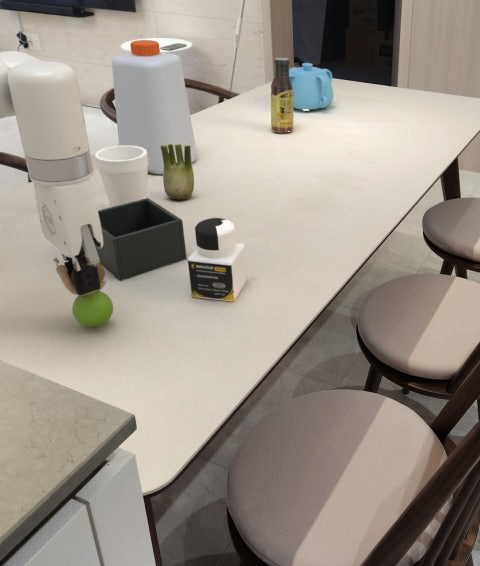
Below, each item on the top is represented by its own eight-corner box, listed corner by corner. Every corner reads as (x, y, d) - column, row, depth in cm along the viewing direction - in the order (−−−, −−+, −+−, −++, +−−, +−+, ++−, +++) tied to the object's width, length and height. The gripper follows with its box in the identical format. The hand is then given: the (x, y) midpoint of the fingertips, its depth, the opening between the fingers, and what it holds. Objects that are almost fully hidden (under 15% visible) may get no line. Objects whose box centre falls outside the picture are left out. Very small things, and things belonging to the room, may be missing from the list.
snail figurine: (63, 324, 93) (46, 252, 87) (106, 309, 97) (93, 239, 91) (77, 341, 90) (61, 267, 84) (121, 325, 94) (109, 253, 88)
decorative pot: (326, 116, 196) (326, 71, 189) (276, 111, 198) (275, 66, 191) (337, 103, 210) (338, 60, 203) (290, 99, 212) (289, 56, 205)
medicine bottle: (191, 297, 102) (183, 230, 96) (207, 276, 108) (200, 211, 102) (234, 302, 101) (229, 235, 95) (247, 280, 107) (243, 216, 101)
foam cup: (98, 213, 128) (86, 151, 121) (141, 202, 133) (132, 142, 127) (120, 229, 122) (109, 165, 115) (164, 216, 128) (156, 154, 121)
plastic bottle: (151, 150, 162) (136, 34, 148) (204, 158, 158) (193, 40, 144) (113, 168, 150) (92, 44, 135) (169, 178, 146) (154, 51, 132)
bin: (119, 280, 106) (112, 239, 102) (88, 253, 113) (80, 214, 109) (186, 258, 113) (182, 219, 109) (153, 234, 121) (148, 197, 117)
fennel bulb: (198, 196, 138) (192, 142, 132) (186, 204, 134) (180, 149, 128) (174, 192, 139) (168, 138, 133) (161, 200, 135) (154, 145, 129)
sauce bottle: (282, 135, 177) (280, 62, 167) (266, 131, 180) (263, 58, 170) (298, 131, 182) (297, 59, 172) (282, 126, 185) (281, 55, 175)
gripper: (7, 153, 83) (37, 274, 93) (54, 190, 74) (81, 321, 83) (65, 142, 88) (88, 259, 97) (116, 176, 78) (136, 302, 88)
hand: (85, 287), depth 90 cm, fingers closed on snail figurine
